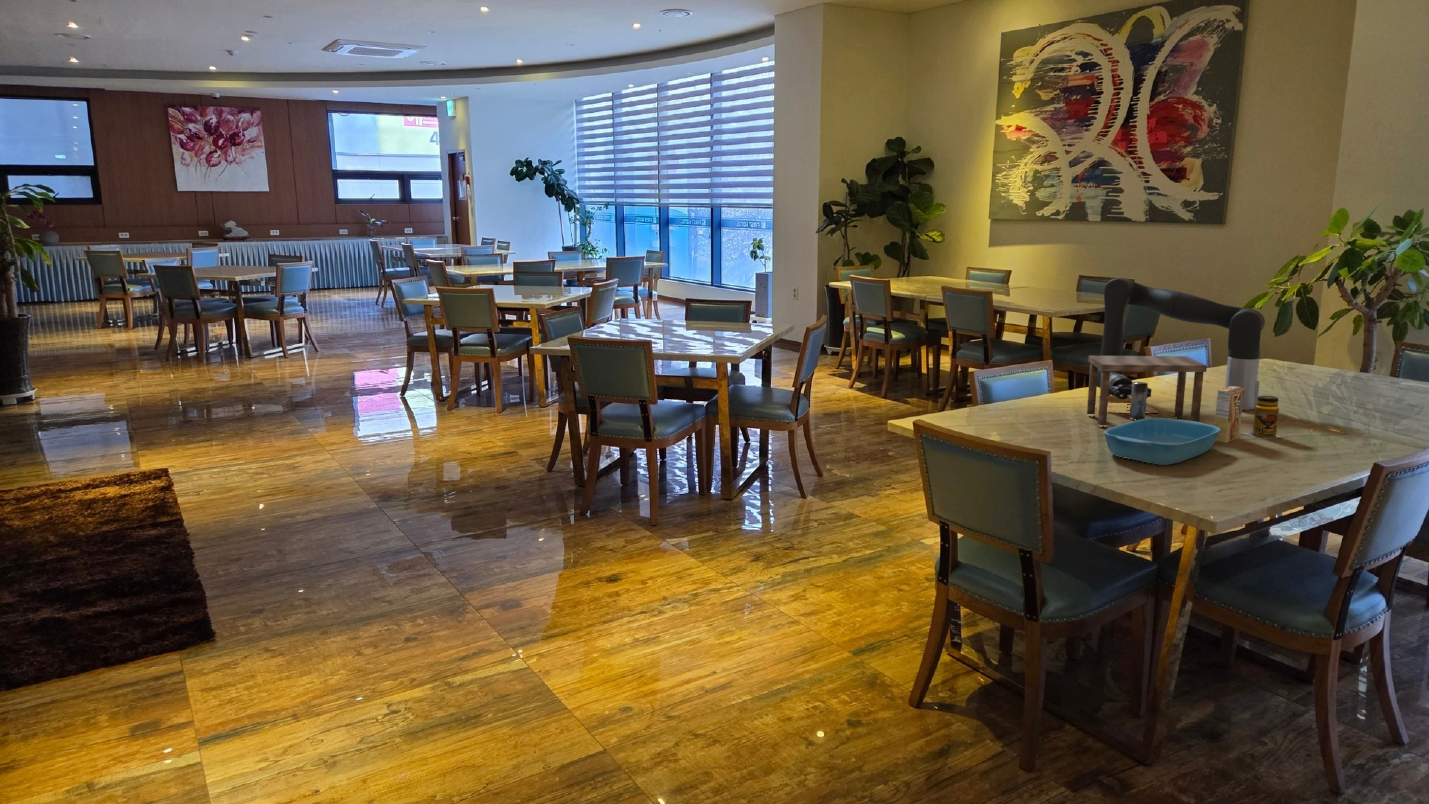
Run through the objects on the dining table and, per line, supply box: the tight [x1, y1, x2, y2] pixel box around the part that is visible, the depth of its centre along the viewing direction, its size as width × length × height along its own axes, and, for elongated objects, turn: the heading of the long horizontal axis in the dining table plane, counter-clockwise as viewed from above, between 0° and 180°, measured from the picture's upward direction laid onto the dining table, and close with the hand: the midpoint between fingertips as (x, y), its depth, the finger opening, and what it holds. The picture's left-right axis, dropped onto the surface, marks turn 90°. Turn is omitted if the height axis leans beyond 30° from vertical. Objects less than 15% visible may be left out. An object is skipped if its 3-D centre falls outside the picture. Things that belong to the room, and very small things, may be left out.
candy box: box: [1213, 386, 1245, 444], centre depth 268 cm, size 9×4×15 cm, turn 129°
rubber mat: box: [1127, 403, 1159, 414], centre depth 313 cm, size 18×16×1 cm
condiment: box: [1241, 395, 1282, 440], centre depth 272 cm, size 7×8×12 cm
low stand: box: [1086, 355, 1208, 426], centre depth 290 cm, size 30×18×20 cm, turn 81°
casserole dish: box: [1103, 417, 1220, 466], centre depth 256 cm, size 37×22×7 cm, turn 130°
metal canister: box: [1129, 381, 1149, 420], centre depth 295 cm, size 4×4×12 cm
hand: (1132, 395), depth 302 cm, fingers open, 8 cm apart
